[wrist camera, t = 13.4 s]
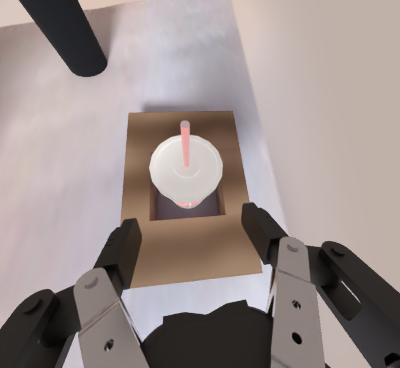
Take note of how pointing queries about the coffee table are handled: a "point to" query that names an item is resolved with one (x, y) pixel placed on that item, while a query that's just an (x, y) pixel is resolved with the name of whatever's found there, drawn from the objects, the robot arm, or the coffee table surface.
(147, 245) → the wooden cup holder
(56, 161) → the coffee table surface
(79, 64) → the black water bottle
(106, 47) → the coffee table surface
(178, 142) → the beverage cup
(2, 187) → the coffee table surface
